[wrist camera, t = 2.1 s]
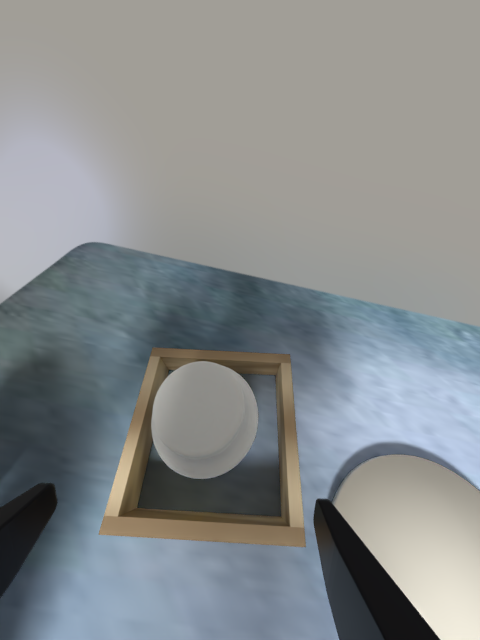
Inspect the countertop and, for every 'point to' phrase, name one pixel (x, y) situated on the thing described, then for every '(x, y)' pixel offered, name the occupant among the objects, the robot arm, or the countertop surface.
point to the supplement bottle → (204, 420)
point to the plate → (421, 536)
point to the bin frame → (207, 525)
